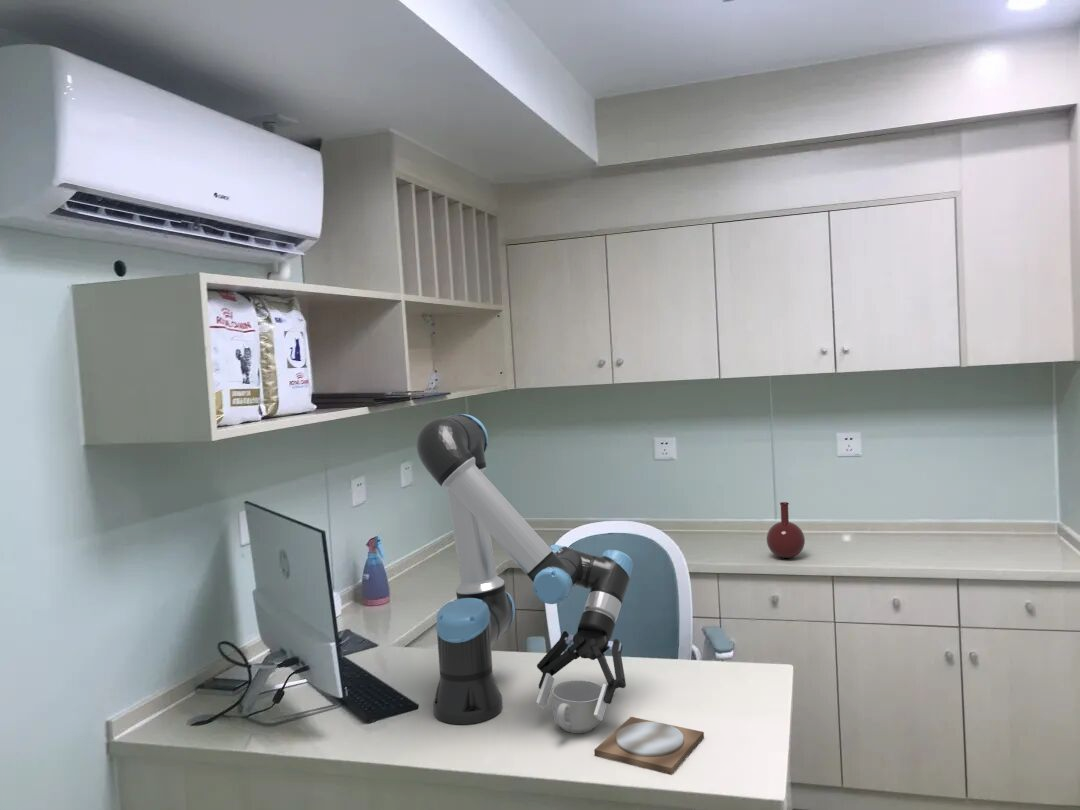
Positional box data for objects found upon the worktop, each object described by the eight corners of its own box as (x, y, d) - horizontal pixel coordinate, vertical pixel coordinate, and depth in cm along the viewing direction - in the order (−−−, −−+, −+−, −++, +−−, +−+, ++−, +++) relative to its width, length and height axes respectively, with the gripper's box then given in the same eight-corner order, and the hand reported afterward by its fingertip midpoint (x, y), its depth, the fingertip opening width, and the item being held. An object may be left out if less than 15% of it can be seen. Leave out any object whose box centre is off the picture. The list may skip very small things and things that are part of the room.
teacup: (573, 711, 180) (571, 675, 180) (615, 723, 173) (613, 685, 173) (533, 736, 169) (531, 698, 169) (576, 750, 163) (574, 710, 162)
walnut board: (594, 755, 160) (594, 745, 160) (631, 722, 173) (630, 712, 173) (671, 774, 151) (671, 763, 151) (703, 737, 165) (703, 728, 165)
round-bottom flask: (778, 552, 308) (776, 498, 306) (811, 556, 298) (810, 501, 297) (760, 559, 298) (758, 504, 297) (794, 564, 289) (792, 507, 288)
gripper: (657, 633, 177) (629, 730, 165) (557, 618, 190) (524, 707, 178) (645, 616, 172) (616, 715, 160) (543, 602, 185) (509, 692, 174)
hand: (568, 711), depth 169 cm, fingers open, 13 cm apart
